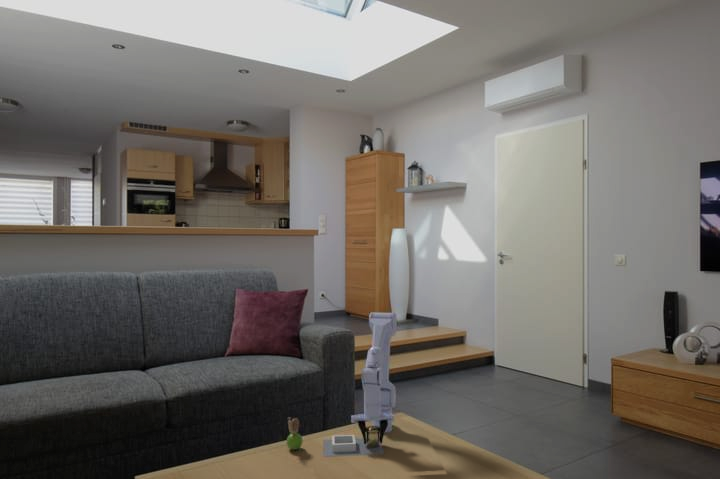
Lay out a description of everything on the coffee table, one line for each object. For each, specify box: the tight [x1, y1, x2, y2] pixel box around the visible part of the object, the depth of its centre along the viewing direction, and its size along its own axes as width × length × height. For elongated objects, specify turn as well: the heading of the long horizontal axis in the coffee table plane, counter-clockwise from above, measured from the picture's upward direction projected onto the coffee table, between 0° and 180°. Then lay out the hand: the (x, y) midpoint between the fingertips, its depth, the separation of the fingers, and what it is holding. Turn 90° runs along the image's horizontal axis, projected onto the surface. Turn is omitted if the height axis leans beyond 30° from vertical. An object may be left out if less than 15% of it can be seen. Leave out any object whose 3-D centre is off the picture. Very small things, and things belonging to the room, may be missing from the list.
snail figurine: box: [286, 417, 304, 451], centre depth 170 cm, size 5×6×12 cm
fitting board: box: [322, 434, 385, 458], centre depth 169 cm, size 14×20×4 cm
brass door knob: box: [366, 424, 380, 448], centre depth 170 cm, size 5×5×6 cm
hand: (372, 442), depth 170 cm, fingers closed on brass door knob, 5 cm apart
